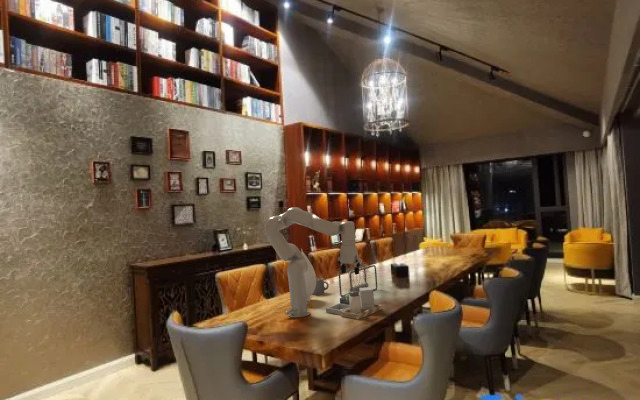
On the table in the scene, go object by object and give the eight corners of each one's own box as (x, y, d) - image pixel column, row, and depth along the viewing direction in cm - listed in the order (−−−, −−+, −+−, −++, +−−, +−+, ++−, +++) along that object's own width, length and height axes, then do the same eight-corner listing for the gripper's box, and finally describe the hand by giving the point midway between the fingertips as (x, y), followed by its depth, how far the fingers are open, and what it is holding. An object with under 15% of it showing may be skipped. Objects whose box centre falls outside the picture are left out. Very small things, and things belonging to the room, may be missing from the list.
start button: (349, 305, 244) (349, 295, 244) (344, 304, 247) (344, 295, 247) (353, 304, 247) (353, 294, 247) (348, 303, 250) (348, 293, 250)
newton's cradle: (365, 288, 293) (364, 263, 293) (378, 289, 286) (376, 264, 286) (339, 297, 271) (337, 271, 271) (352, 299, 264) (350, 272, 264)
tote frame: (341, 315, 228) (341, 310, 228) (326, 312, 236) (325, 308, 236) (355, 310, 237) (354, 305, 237) (339, 307, 245) (339, 303, 245)
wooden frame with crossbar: (357, 319, 218) (357, 314, 218) (340, 316, 226) (340, 311, 226) (382, 309, 234) (381, 304, 234) (365, 306, 243) (365, 302, 243)
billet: (356, 317, 222) (355, 293, 222) (348, 315, 226) (346, 292, 226) (363, 314, 226) (361, 291, 226) (354, 313, 230) (353, 290, 231)
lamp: (289, 303, 264) (286, 249, 264) (298, 297, 279) (295, 246, 279) (312, 303, 259) (308, 249, 259) (320, 297, 274) (316, 246, 274)
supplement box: (372, 308, 238) (371, 286, 238) (375, 311, 231) (373, 289, 231) (360, 309, 238) (358, 287, 238) (362, 312, 230) (360, 290, 230)
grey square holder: (350, 308, 242) (349, 299, 242) (340, 306, 247) (339, 298, 247) (358, 305, 247) (358, 296, 247) (348, 303, 253) (347, 295, 253)
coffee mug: (308, 294, 286) (307, 280, 286) (313, 291, 295) (312, 277, 295) (325, 295, 280) (324, 280, 280) (330, 291, 290) (329, 277, 290)
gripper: (332, 243, 232) (334, 273, 232) (356, 244, 220) (358, 276, 220) (341, 242, 237) (343, 271, 237) (364, 243, 225) (366, 273, 225)
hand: (350, 273), depth 228 cm, fingers open, 9 cm apart
